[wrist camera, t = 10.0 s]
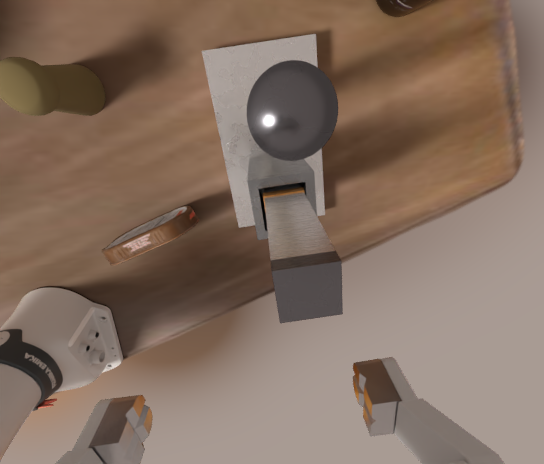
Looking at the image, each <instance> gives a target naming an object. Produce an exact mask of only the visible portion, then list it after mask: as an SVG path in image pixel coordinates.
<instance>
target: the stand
mask: <svg viewBox="0 0 544 464" xmlns="http://www.w3.org/2000/svg"><path fill="white" fill-rule="evenodd" d="M202 54H203V59H204V64H205V69H206V73H207V78H208V83H209V88H210V92H211V97H212V102H213V107H214V111H215V116H216V121H217V126H218V130H219V135H220V140H221V145H222V149H223V154H224V159H225V164H226V168H227V173H228V178H229V183H230V187H231V192H232V197H233V202H234V207H235V211H236V216H237V221H238V226H239V227H246V226H253V225H255V227H256V233H257V238H258V240H262V239H268V230H267V220H266V212H265V206H264V199H263V193H264V191H263V188H267V187H274V186H281V185H287V184H294V183H299V184H300V186H301V187H303V189H304V192H305V195H306V197H307V199H308V201H309V203H310V204H311V206H312V208H313V210H314V212H315V214H316V216H321V215H325V205H324V186H323V166H322V147H323V146H324V145H325V144H326V143H327V141H328V140H329V138H330V137H331V135H332V133H333V131H334V128H335V125H336V122H337V116H338V101H337V96H336V92H335V89H334V87H333V85H332V83H331V81H330V80H329V78H328V77H327V76H326V75H325V74H324V72H322V71H321V70H320V69H319V68H318V66H317V47H316V34H311V35H304V36H297V37H291V38H284V39H278V40H271V41H265V42H258V43H251V44H245V45H238V46H232V47H225V48H218V49H212V50H205V51H202Z"/></svg>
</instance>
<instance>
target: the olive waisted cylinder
mask: <svg viewBox="0 0 544 464" xmlns="http://www.w3.org/2000/svg"><path fill="white" fill-rule="evenodd" d="M0 97H1V99H2V100H3V101H4V102H6V103H7V104H8V105H9V106H10V107H12V108H13V109H15V110H17V111H18V112H21V113H24V114H28V115H32V116H41V115H46V114H48V113H51V112H53V111H58V112H65V113H71V114H78V115H89V116H91V115H94V114H97V113H98V112H99V111H100V110H102V108H103V106H104V104H105V91H104V87H103V85H102V83H101V81H100V79H99V78H98V77H97V76H96V75H95V74H94V73H93V72H92V71H91V70H89V69H88V68H86V67H84V66H81V65H78V64H65V65H44V66H41V65H39V64H38V63H36V62H34V61H31V60H28V59H25V58H21V57H9V58H6V59H3V60H1V61H0Z"/></svg>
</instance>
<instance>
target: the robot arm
mask: <svg viewBox="0 0 544 464" xmlns="http://www.w3.org/2000/svg"><path fill="white" fill-rule="evenodd" d="M122 361H123V355H122V351H121V347H120V343H119V340H118V336H117V332H116V328H115V324H114V321H113V317H112V313H111V310H110V309H109V308H108V307H106V306H103V305H100V304H97V303H93V302H91V301H89V300H88V299H86V298H84V297H83V296H81V295H79V294H77V293H74V292H72V291H69V290H65V289H61V288H52V287H48V288H39V289H36V290H33V291H31V292H29V293H27V294H26V295H25V296H24V297H23V298H22V300H21V302H20V303H19V305H18V307H17V308H16V310H15V311H14V312H13V314H12V315H11V316H10V318H9V319H8V320H7V321H6V322H5V324H4V325H3V326H2V327H1V328H0V461H1V459H2V457H3V455H4V453H5V452H6V450H7V449H8V447H9V445H10V444H11V442H12V440H13V439H14V437H15V435H16V434H17V432H18V431H19V429H20V428H21V426H22V425H23V423H24V422H25V420H26V419H27V417H28V416H29V414H30V413H31V412H32V411H34V410H37V409H38V408H42V407H49V406H53V404H49V403H52V402H54V401H56V400H57V399H50V400H45V399H47V398H48V397H49V396H51V395H52V394H53V393H54V392H57V391H64V390H69V389H75V388H79V387H83V386H85V385H88V384H90V383H92V382H93V381H95V380H96V379H97V378H98V377H99V375H100V374H101V373H102V372H105V371H108V370H111V369H113V368H115V367H117V366H118V365H120V364H121V363H122ZM353 371H354V373H355V375H354V376H353V385H354V391H355V395H356V398H357V400H358V403H359V405H361V406H362V407H363V417H364V420H365V423H366V426H367V428H368V431H369V434H370V436H377V435H385V434H393V433H394V435H395V436H396V437H397V438H398V439H399V440H400V441H401V442H402V443H403V444H404V446H405V447H406V448H407V449H408V450H409V451H410V452H411V453H412V454H413V455H414V456H415V457H416V458H417V459H418V460H419V461H420V462H421V463H422V464H504V462H503V461H502V459H501V458H500V457H499V455H498V454H496V453H495V452H494V451H493V450H491V449H490V448H489V447H487V446H486V445H485V444H483V443H482V442H481V441H479V440H478V439H476V438H475V437H474V436H472V435H471V434H469V433H468V432H467V431H465V430H464V429H463V428H462V427H460V426H459V425H457V424H456V423H454V422H453V421H452V420H451V419H449V418H448V417H447V416H445V415H444V414H443V413H441V412H440V411H438V410H437V409H436V408H434V407H433V406H431V405H430V404H429V403H428V402H426V401H424V400H423V399H418V398H417V396H416V395H415V393H414V391H413V390H412V388H411V386H410V384H409V382H408V381H407V379H406V377H405V376H404V374H403V372H402V370H401V368H400V367H399V365H398V363H397V362H396V360H395V359H394V358H393V357H389V358H384V359H374V360H368V361H362V362H356V363H354V364H353ZM144 403H145V398H144V396H143V395H136V396H128V397H122V398H112V399H105V400H100V401H99V402H98V403H97V404H96V406H95V408H94V410H93V412H92V413H91V415H90V417H89V419H88V421H87V423H86V425H85V427H84V429H83V431H82V433H81V434H80V436H79V438H78V440H77V442H76V444H75V446H74V448H73V450H72V451H68V452H67V453H66V454H65V455H64V456H63V457H62V458H61V459H60V460H58V462H56V463H55V464H140V463H141V459H142V456H143V453H144V450H145V448H144V445H143V442H144V441H145V439H146V438H147V437H148V436H149V433H150V430H151V427H152V412H151V409H150V407H148V406H146V405H144Z"/></svg>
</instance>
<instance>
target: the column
mask: <svg viewBox="0 0 544 464" xmlns="http://www.w3.org/2000/svg"><path fill="white" fill-rule="evenodd" d="M263 191H264V193H263V199H264V206H265V212H266V220H267V230H268V240H269V250H270V260H271V269H272V276H273V282H274V289H275V294H276V301H277V307H278V313H279V318H280V323H285V322H292V321H299V320H306V319H312V318H319V317H326V316H333V315H340V314H343V313H342V271H341V270H342V269H341V260H340V258H339V256H338V254H337V252H336V251H335V249H334V247H333V245H332V243H331V241H330V239H329V238H328V236H327V234H326V232H325V230H324V228H323V227H322V225H321V223H320V221H319V219H318V217H317V216H316V214H315V212H314V210H313V208H312V206H311V204H310V203H309V201H308V199H307V197H306V195H305V192H304V189H303V187H301V186H300V184H299V183H294V184H287V185H281V186H274V187H267V188H263Z"/></svg>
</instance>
